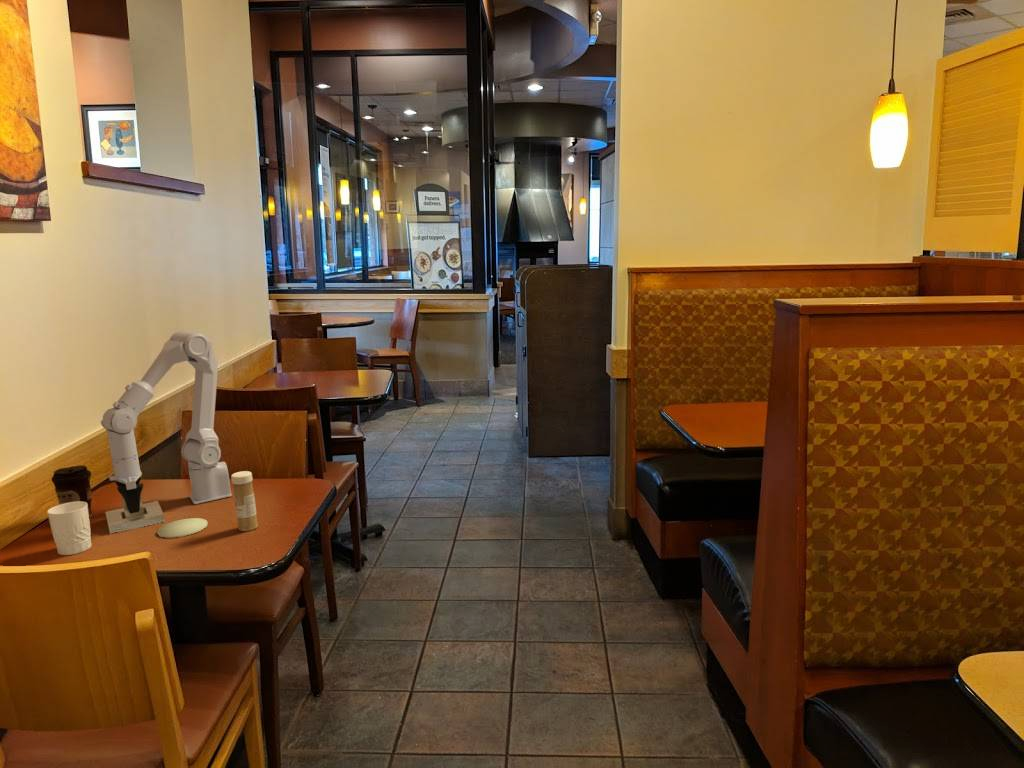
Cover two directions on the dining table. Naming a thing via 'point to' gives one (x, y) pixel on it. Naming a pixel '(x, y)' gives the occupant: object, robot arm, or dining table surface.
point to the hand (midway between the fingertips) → (133, 509)
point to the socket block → (134, 518)
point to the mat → (182, 527)
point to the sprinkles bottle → (244, 500)
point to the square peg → (128, 515)
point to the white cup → (70, 527)
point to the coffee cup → (73, 485)
